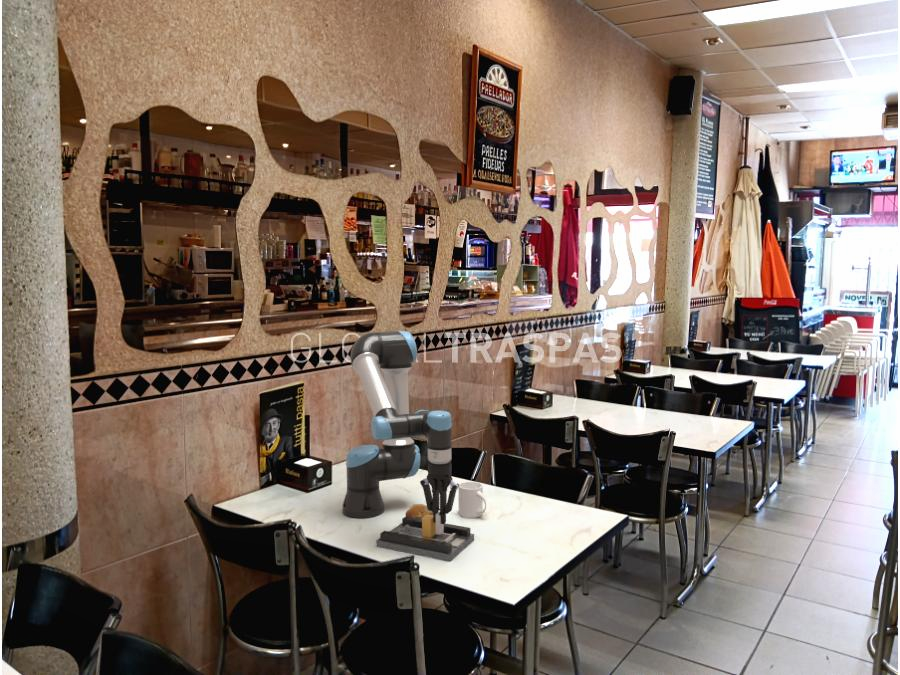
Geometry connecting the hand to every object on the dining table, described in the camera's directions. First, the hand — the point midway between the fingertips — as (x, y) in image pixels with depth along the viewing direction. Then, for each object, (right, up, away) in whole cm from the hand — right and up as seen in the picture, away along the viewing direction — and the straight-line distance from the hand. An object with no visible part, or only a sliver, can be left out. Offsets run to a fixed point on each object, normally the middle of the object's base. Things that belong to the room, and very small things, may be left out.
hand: (439, 532), depth 222 cm
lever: (-3, -2, +2) cm, 4 cm away
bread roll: (-7, -2, +21) cm, 22 cm away
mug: (+12, -2, +27) cm, 29 cm away
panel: (-5, -4, +2) cm, 6 cm away
